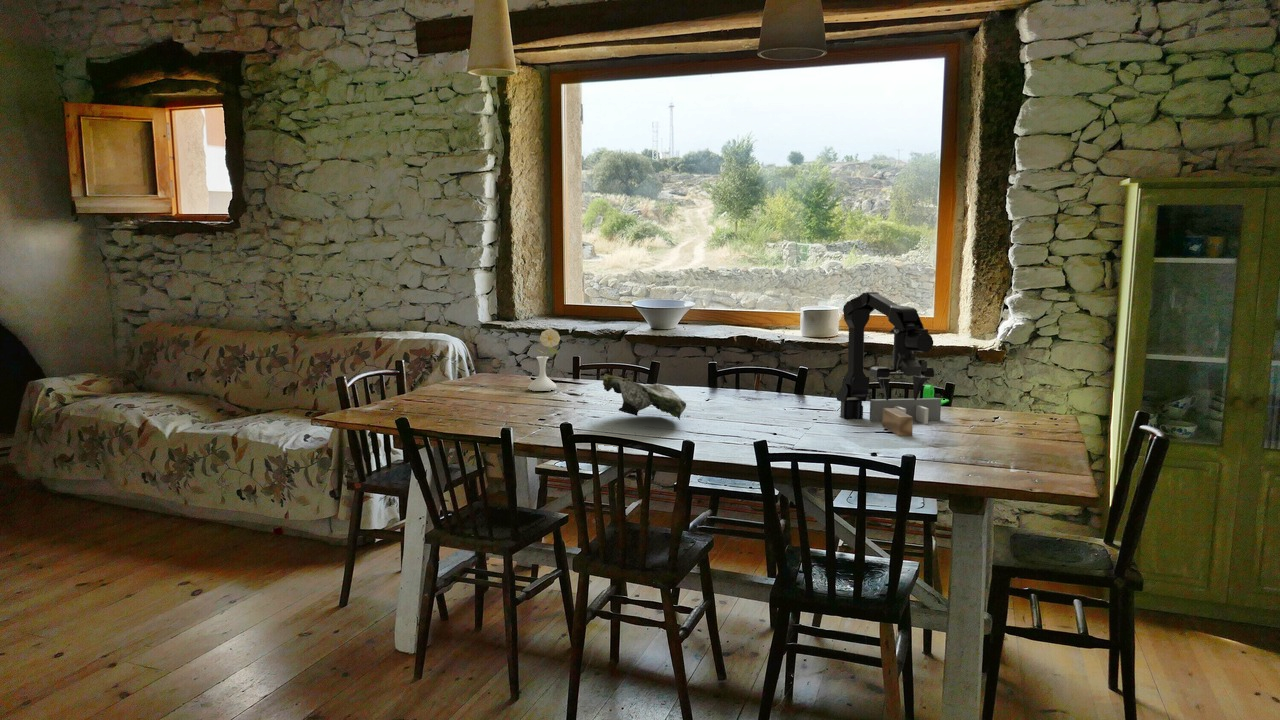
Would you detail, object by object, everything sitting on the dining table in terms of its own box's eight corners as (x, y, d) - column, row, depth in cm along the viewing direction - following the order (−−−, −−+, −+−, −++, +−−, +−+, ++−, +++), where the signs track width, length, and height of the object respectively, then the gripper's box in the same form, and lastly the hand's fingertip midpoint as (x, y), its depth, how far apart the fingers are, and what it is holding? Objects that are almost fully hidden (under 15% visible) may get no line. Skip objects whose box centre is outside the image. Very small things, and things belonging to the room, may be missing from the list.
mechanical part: (938, 409, 311) (939, 387, 310) (922, 407, 315) (923, 385, 314) (950, 404, 320) (951, 383, 319) (934, 403, 324) (935, 382, 323)
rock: (581, 394, 277) (597, 351, 280) (613, 419, 303) (626, 379, 307) (665, 415, 265) (679, 370, 269) (690, 439, 292) (703, 398, 296)
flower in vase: (524, 393, 339) (523, 329, 336) (532, 389, 350) (532, 327, 348) (556, 394, 337) (556, 330, 334) (564, 390, 348) (564, 328, 346)
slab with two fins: (879, 424, 279) (880, 403, 278) (869, 420, 287) (870, 399, 286) (949, 423, 283) (950, 402, 282) (937, 418, 290) (938, 398, 290)
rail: (899, 436, 261) (899, 417, 260) (882, 426, 277) (883, 408, 276) (912, 436, 261) (913, 417, 261) (894, 426, 277) (895, 408, 276)
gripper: (885, 352, 255) (883, 404, 257) (945, 351, 258) (942, 403, 260) (870, 348, 266) (868, 398, 268) (927, 347, 269) (924, 397, 271)
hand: (901, 399), depth 266 cm, fingers open, 9 cm apart
